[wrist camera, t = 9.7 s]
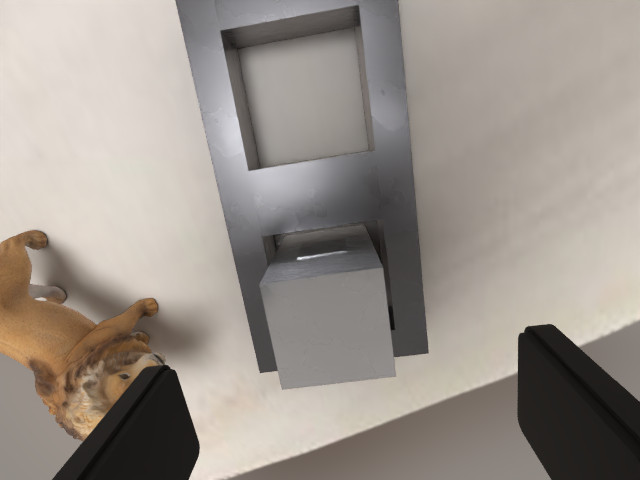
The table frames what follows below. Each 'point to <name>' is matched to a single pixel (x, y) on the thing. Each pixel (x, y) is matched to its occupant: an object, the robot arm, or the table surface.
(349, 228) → the block
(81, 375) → the lion figurine
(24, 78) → the table surface
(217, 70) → the rail
